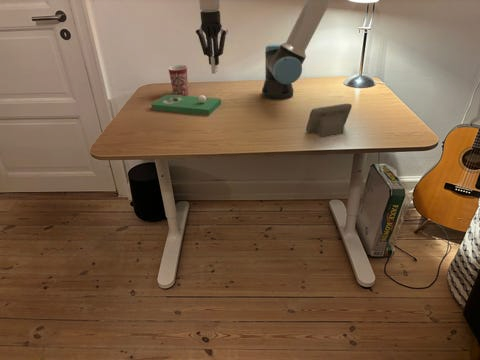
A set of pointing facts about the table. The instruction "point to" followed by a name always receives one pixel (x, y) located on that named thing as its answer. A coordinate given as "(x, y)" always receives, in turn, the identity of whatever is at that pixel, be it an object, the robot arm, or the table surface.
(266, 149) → the table surface
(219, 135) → the table surface
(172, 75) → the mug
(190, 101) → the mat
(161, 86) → the table surface
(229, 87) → the table surface
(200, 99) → the ball
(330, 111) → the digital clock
